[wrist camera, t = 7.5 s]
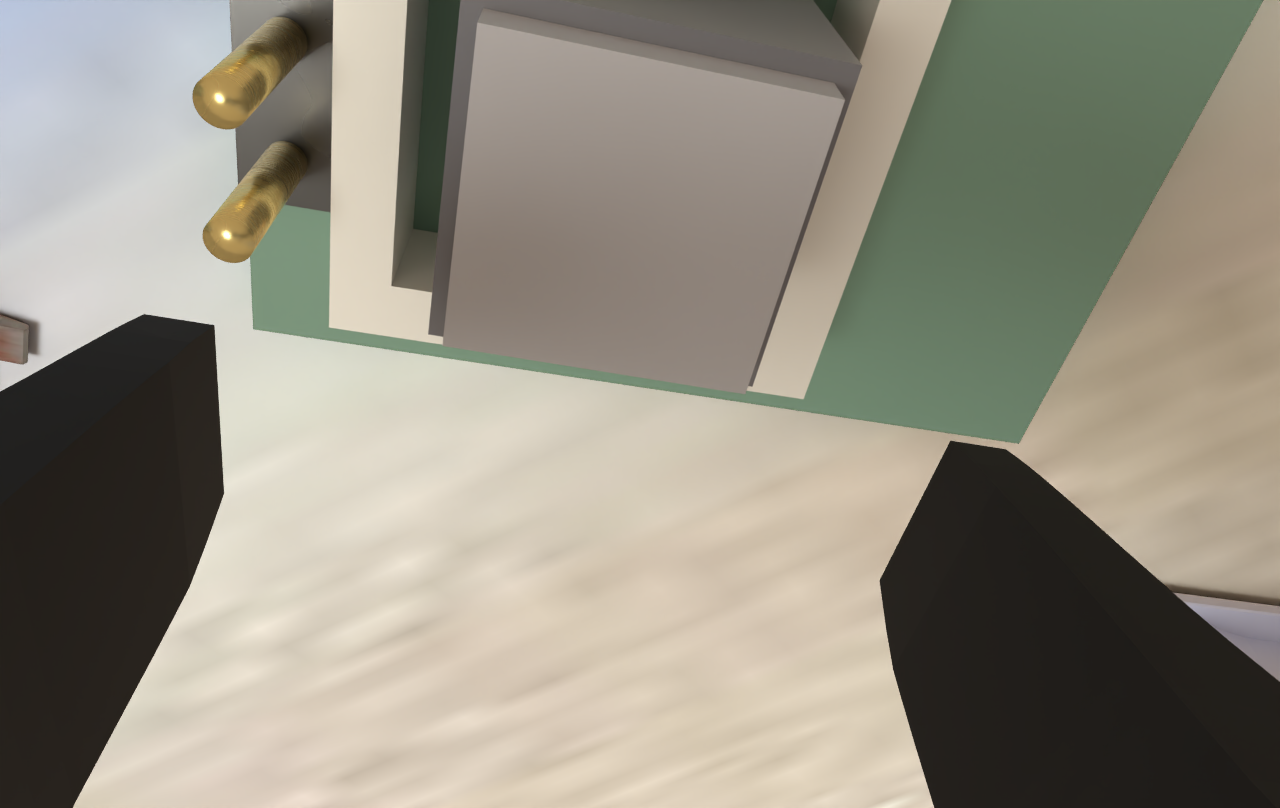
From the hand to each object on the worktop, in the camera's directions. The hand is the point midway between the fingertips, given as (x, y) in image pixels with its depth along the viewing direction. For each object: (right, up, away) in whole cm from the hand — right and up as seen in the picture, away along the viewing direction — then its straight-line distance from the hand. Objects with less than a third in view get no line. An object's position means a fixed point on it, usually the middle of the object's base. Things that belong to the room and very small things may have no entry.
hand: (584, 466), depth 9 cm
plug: (0, +6, +7) cm, 9 cm away
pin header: (-5, +7, +6) cm, 10 cm away
